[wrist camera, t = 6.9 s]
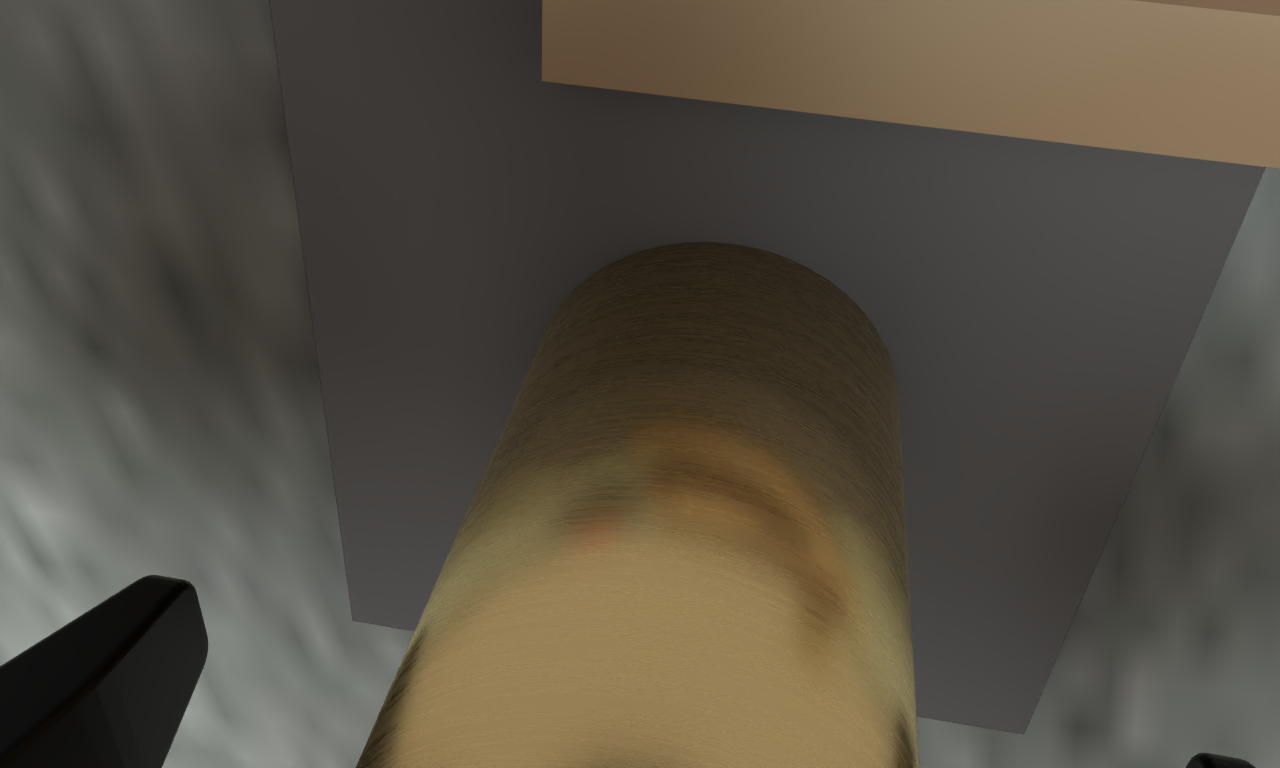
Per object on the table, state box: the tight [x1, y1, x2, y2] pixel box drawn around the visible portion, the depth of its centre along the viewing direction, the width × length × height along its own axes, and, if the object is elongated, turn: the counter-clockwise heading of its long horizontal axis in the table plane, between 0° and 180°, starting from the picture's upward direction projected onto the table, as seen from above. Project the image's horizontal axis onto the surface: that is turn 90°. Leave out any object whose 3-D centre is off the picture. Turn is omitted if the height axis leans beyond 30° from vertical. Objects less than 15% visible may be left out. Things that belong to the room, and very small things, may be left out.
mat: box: [269, 0, 1265, 734], centre depth 13 cm, size 10×10×1 cm
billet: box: [356, 242, 919, 768], centre depth 10 cm, size 4×4×7 cm
